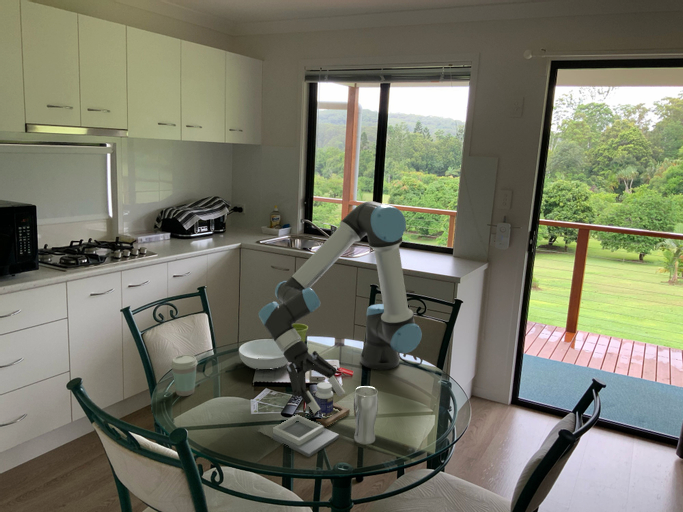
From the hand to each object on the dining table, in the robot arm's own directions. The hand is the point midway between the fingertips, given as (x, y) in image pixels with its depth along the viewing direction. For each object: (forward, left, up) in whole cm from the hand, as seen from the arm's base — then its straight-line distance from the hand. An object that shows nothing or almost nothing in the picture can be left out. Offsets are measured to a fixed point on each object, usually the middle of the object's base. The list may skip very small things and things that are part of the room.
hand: (330, 402), depth 168 cm
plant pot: (-36, -47, -5) cm, 60 cm away
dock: (+14, 0, -5) cm, 15 cm away
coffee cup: (+19, -47, -5) cm, 51 cm away
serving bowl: (-15, -43, -5) cm, 46 cm away
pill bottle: (0, -2, -5) cm, 5 cm away
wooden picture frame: (0, -2, -5) cm, 5 cm away
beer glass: (+3, +16, -5) cm, 17 cm away
